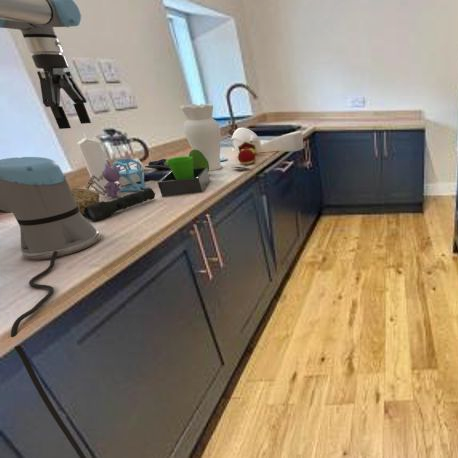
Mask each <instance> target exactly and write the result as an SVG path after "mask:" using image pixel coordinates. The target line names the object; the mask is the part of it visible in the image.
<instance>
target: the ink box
mask: <svg viewBox="0 0 458 458" xmlns="http://www.w3.org/2000/svg"><path fill="white" fill-rule="evenodd" d="M133 159H134V160H136V161H138V162H139V168H140V169H141V170H143V172H142V175H143V179H144V169H145V165H144V164H143V163H142V162H141V160H140V158H138V157H136V158H133ZM125 165H127V164H125ZM129 166H130V168H131V169H134V170H138V169H137V167H136V166H137V164H136V163H135V162H130V163H129ZM117 168H118V169H119V171H120V172H123V171H126V170H125V167H123V166H120V165H118V166H117ZM127 169H128V167H127ZM130 178H131V180H132V181H133V182H134V183H138V182H141V181H140V178H139V176H138V174H137V173H136V174H133V175H131V176H130ZM117 182H118V183H119V184H120V186H121V187H126V186H129V185H132V183H130V182H129V181H128V180H127V179H126V178H124V177H122V176H120V179H119V180H118V181H117Z"/></svg>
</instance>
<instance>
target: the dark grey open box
mask: <svg viewBox="0 0 458 458" xmlns="http://www.w3.org/2000/svg"><path fill="white" fill-rule="evenodd" d="M193 173H194V178H189V179H180V180H176V178H175V176H174V174H173V172H172V171H170V172H169V173H167V174H166V175H165V176H164V177H163V178H162V179H161V180H157V185H158V188H159V191H160V192H159V193H160V195H161V197H162V198H165V197H173V196H181V195H189V194H190V195H191V194H197V193H198V194H200V193H203V192H204V191H205V189H206V187H207V186H208V185H209V183H210V181H211V179H210V174H209V171H208V170H207V167H205V168H195V169H193Z"/></svg>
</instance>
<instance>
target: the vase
mask: <svg viewBox="0 0 458 458" xmlns="http://www.w3.org/2000/svg"><path fill="white" fill-rule="evenodd" d="M178 110H180V112H181V113H182V114H183V116H184V117H185V119H186V120H185V121H184V123H183V125H182V127H183V134H184V136H185V138H186V140H187V142H188V144H189V146H190V147H191V150H194V149H196V150H199V151H200V152H201V153H202V154H203V155H204V156H205V158H206V159H207V161H208V163H209V171H216V170H220V169H221V168H222V164H221V161H220V158H221V144H222V143H221V142H222V134H221V128H220V125H219V122H218V121H217V120H216V119H214V117H213V111H214V105H213V104H212V103H211V102H209V103H206V104H204V103H201V104H196V103H190V104H189V105H186V104H181V105H180V106H179V109H178ZM209 171H208V172H209Z"/></svg>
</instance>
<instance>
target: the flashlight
mask: <svg viewBox="0 0 458 458" xmlns="http://www.w3.org/2000/svg"><path fill="white" fill-rule="evenodd" d="M155 197H156V193H155V191H154V189H153V188H151V187H146V188H143V190H138V191H135V192H132V193H129V194H126V195H123V196H118V197H117V198H116V199H113V200H107V201H104V200H103V201H100V202H99V203H95V204H92V205H89V206H87V207H85V209H84V214H83V215H84V217H85V218H86V219H87V220H88V221H89V222H90V221H91V222H95V221H100V220H102V219H105V218H107V217H111V216H112V215H114V214H115V213H116V212H119V211H121V210H125V209H128V208H130V207H131V208H132V207H133V206H137V205H140V204H143V203H144V202H147V201H151V200H154V199H155Z"/></svg>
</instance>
